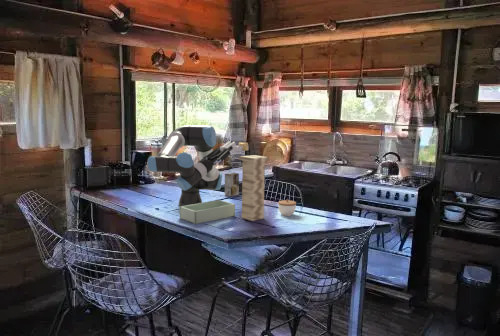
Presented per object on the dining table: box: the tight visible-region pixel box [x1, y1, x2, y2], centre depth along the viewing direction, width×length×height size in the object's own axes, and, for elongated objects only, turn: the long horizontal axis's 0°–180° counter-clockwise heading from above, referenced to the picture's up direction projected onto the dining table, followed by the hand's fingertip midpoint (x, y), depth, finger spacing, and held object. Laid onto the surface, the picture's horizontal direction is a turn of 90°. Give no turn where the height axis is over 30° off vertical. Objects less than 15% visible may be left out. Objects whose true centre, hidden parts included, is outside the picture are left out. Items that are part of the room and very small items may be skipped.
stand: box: [238, 154, 270, 222], centre depth 238 cm, size 12×12×36 cm
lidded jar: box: [277, 199, 297, 217], centre depth 250 cm, size 11×11×9 cm
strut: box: [219, 142, 249, 152], centre depth 224 cm, size 18×5×4 cm, turn 133°
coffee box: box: [224, 172, 240, 197], centre depth 303 cm, size 9×6×16 cm
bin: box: [179, 199, 236, 225], centre depth 240 cm, size 29×15×7 cm, turn 133°
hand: (232, 143), depth 223 cm, fingers closed on strut, 3 cm apart
